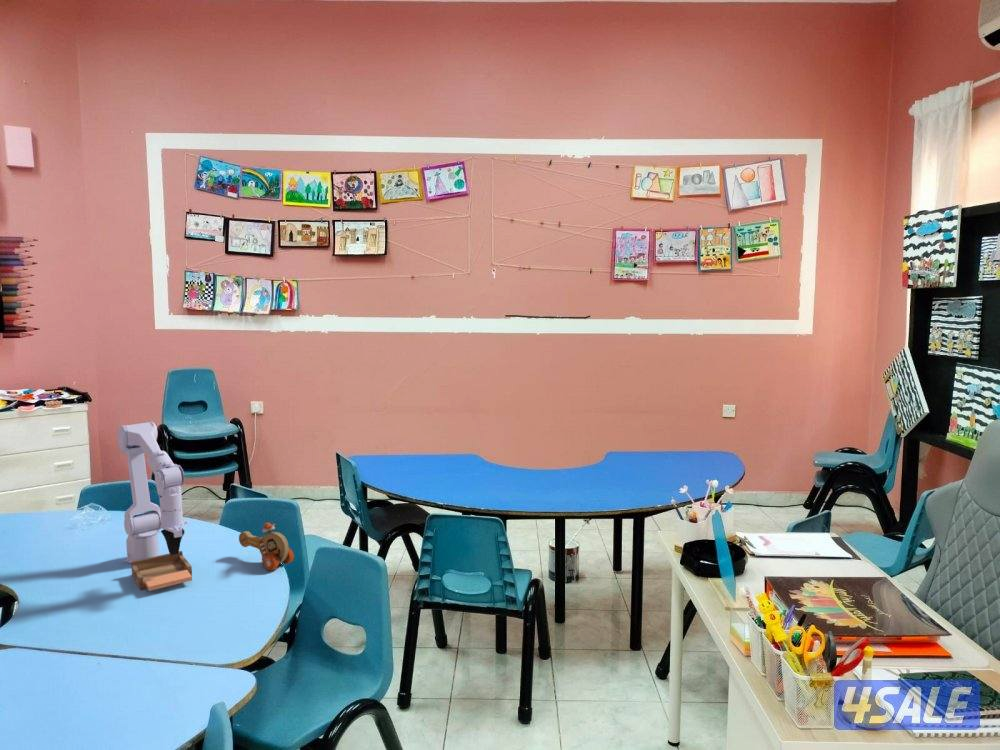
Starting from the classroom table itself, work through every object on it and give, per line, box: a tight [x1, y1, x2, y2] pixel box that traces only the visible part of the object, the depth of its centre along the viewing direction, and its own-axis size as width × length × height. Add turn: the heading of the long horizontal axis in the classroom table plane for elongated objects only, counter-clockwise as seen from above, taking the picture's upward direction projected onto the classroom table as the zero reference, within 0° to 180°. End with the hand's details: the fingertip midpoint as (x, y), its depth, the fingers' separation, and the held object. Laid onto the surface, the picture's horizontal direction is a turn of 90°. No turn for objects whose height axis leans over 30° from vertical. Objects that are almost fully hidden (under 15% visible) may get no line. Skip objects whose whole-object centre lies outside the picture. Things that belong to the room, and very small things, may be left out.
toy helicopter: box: [238, 522, 295, 572], centre depth 216 cm, size 8×21×14 cm, turn 60°
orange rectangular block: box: [145, 570, 193, 591], centre depth 199 cm, size 1×11×6 cm
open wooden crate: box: [130, 550, 193, 591], centre depth 205 cm, size 12×14×4 cm
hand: (174, 553), depth 200 cm, fingers closed
